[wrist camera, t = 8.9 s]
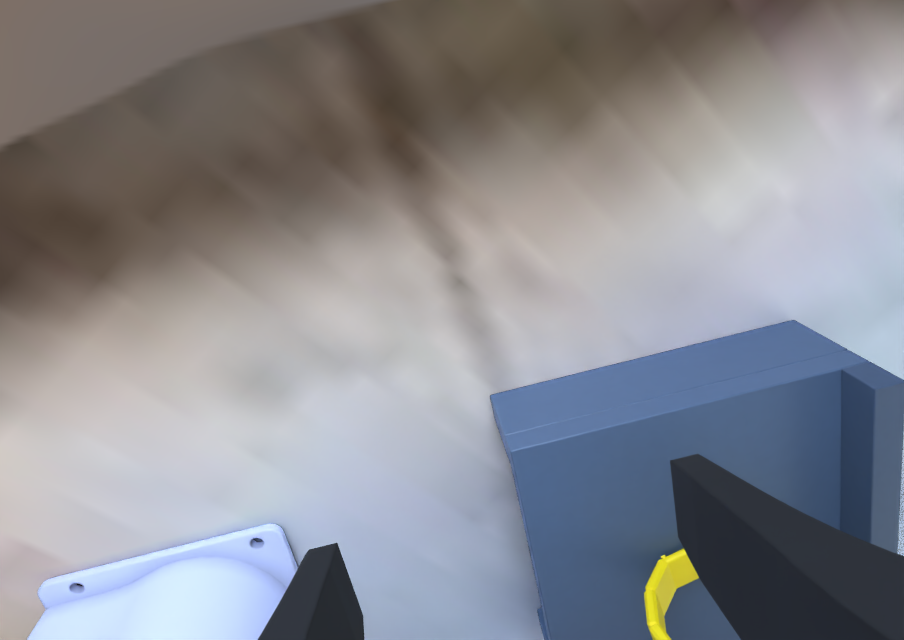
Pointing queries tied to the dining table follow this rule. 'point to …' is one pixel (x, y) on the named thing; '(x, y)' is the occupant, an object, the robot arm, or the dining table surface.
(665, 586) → the watch
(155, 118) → the dining table surface
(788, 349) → the blue stand
